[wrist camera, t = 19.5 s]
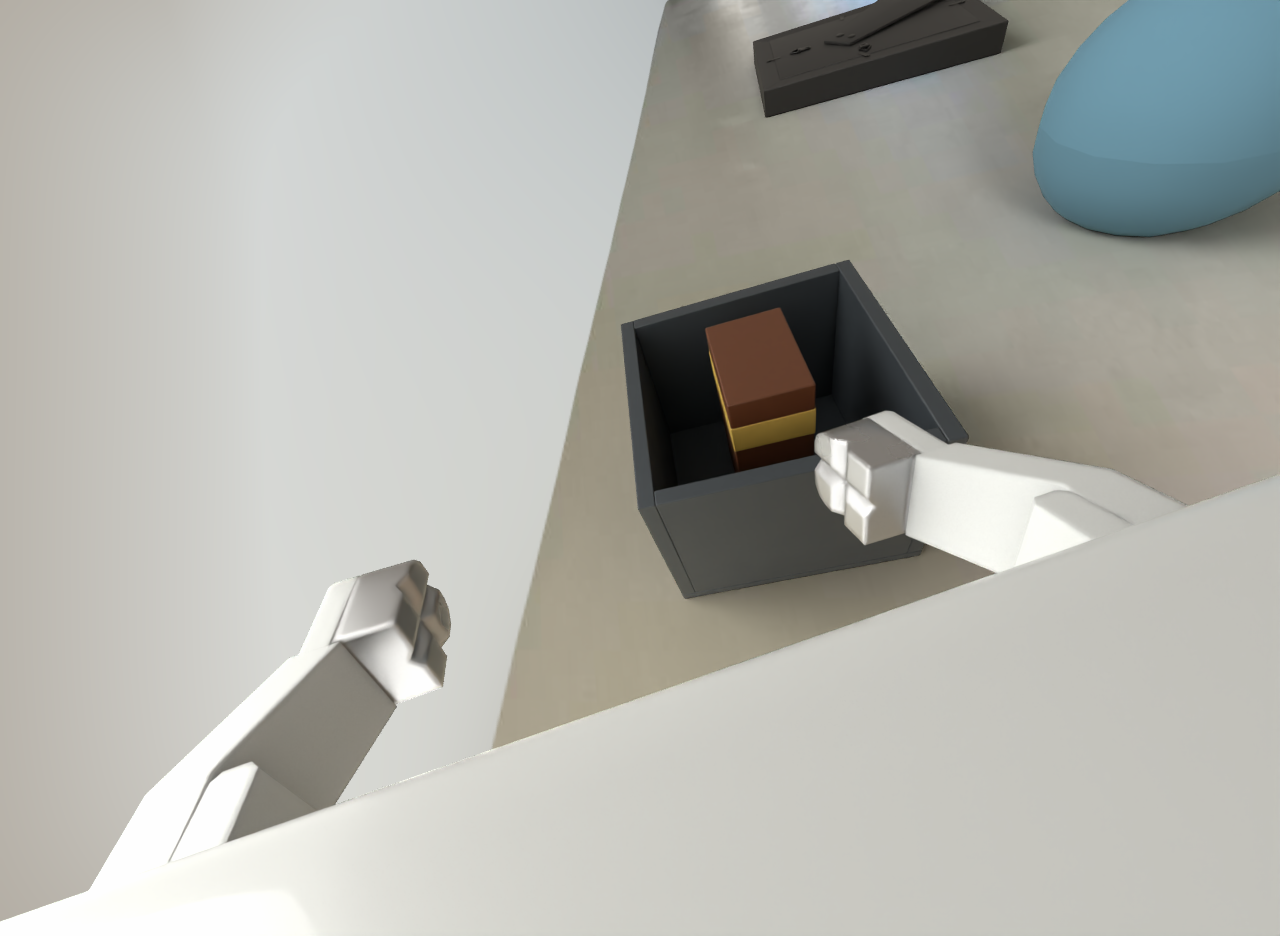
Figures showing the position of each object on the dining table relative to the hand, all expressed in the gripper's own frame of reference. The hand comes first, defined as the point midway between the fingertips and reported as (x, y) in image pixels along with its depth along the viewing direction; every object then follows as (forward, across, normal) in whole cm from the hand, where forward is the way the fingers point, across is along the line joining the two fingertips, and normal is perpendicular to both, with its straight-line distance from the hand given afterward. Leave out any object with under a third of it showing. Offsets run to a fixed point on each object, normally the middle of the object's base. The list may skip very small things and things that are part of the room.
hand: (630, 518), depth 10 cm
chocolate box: (+17, -10, +14) cm, 24 cm away
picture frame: (+74, -53, -9) cm, 91 cm away
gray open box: (+17, -10, +14) cm, 24 cm away
